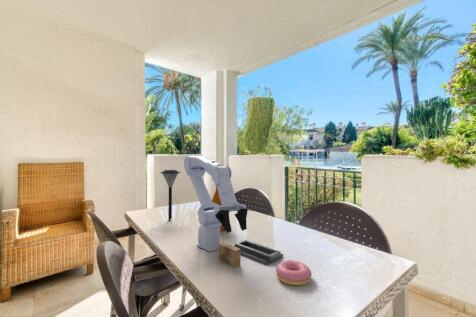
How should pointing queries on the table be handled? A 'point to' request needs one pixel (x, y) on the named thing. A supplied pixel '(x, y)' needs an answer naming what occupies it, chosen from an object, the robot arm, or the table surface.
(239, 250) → the door panel
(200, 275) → the table surface
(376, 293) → the table surface
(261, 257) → the floor track
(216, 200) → the wine bottle
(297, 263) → the doughnut
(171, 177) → the solar garden light
